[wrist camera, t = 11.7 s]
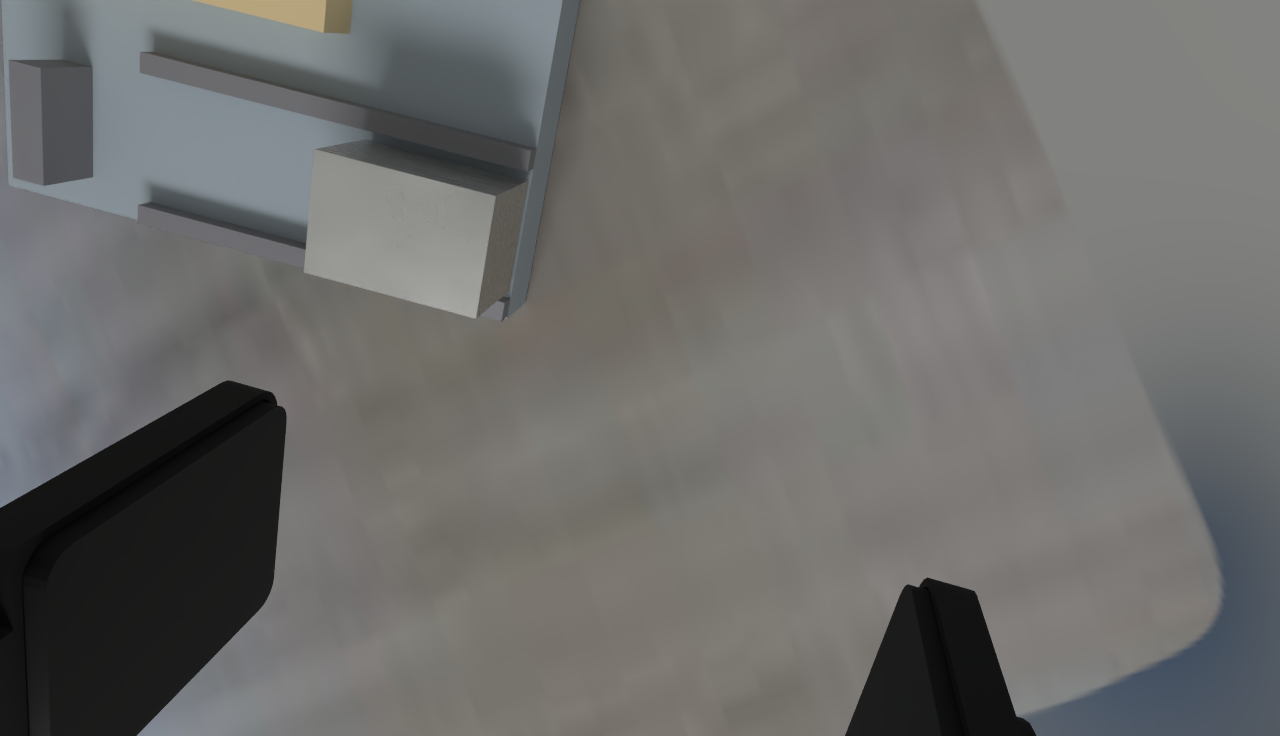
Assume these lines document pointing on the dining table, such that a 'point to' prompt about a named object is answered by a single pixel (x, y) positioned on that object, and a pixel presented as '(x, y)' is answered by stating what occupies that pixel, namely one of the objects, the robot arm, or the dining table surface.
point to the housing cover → (413, 225)
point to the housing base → (275, 104)
